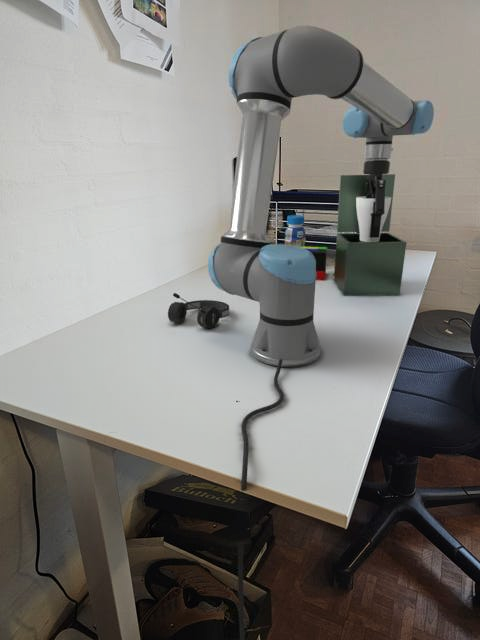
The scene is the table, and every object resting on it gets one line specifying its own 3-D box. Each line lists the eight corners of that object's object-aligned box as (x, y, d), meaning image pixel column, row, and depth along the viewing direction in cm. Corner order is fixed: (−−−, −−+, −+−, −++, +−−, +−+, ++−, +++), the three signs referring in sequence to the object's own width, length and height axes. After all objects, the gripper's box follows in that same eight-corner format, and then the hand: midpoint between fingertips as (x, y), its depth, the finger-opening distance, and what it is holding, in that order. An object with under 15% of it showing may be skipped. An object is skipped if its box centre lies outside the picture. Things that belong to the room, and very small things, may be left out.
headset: (155, 290, 101) (197, 279, 118) (156, 327, 103) (196, 311, 121) (201, 297, 95) (238, 284, 113) (201, 335, 98) (237, 317, 115)
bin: (399, 295, 127) (406, 242, 121) (343, 295, 128) (347, 242, 122) (383, 280, 143) (388, 232, 137) (333, 280, 144) (337, 233, 138)
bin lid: (395, 174, 131) (387, 174, 138) (340, 175, 131) (336, 175, 139) (389, 231, 137) (382, 228, 144) (337, 232, 137) (333, 229, 145)
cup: (389, 243, 124) (394, 198, 119) (354, 243, 126) (358, 198, 121) (383, 238, 134) (388, 196, 129) (351, 237, 135) (354, 196, 130)
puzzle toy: (296, 278, 147) (297, 251, 143) (299, 272, 156) (300, 246, 152) (324, 280, 145) (326, 252, 141) (325, 273, 154) (327, 247, 150)
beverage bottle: (283, 263, 170) (284, 214, 163) (303, 262, 170) (305, 214, 163) (284, 267, 162) (285, 217, 155) (305, 267, 162) (307, 217, 155)
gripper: (402, 159, 110) (392, 240, 118) (379, 160, 131) (372, 229, 139) (374, 160, 111) (366, 240, 119) (356, 160, 132) (350, 229, 140)
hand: (369, 234), depth 129 cm, fingers closed on cup, 10 cm apart
